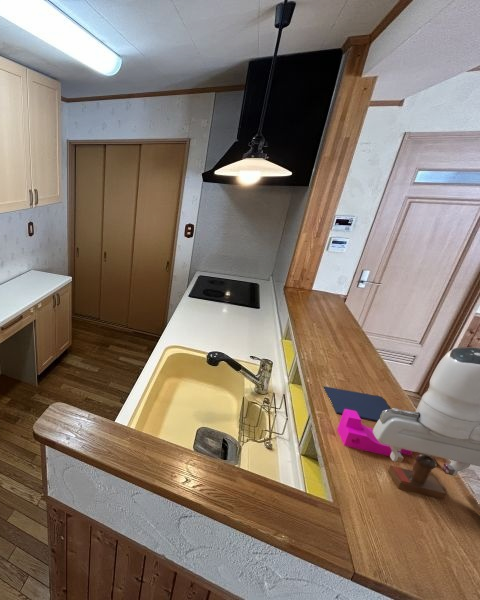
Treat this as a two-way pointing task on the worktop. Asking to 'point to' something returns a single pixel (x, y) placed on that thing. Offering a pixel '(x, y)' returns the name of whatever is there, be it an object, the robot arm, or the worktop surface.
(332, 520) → the worktop surface
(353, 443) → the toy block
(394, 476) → the stamp
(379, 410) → the ink pad
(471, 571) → the worktop surface
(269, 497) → the worktop surface
